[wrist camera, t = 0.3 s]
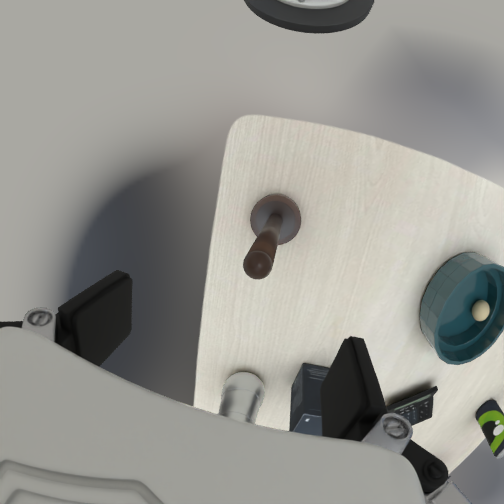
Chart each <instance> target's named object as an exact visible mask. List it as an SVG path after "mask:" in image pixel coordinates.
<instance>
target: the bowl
mask: <svg viewBox="0 0 504 504" xmlns="http://www.w3.org/2000/svg"><path fill="white" fill-rule="evenodd" d="M479 300H484V301H486V302H487V303H488V305H489V308H490V312H489V315H488V317H487V318H486V319H485V320H483V321H477V320H475V319H474V317H473V315H472V308H473V306H474V304H475V303H476V302H477V301H479ZM420 324H421V330H422V332H423V333H424V335H425V337H426V339H427V340H428V342H429V343H430V345H431V346H432V347H433V349H434V351H435V352H436V354H437V355H438V357H439V358H440V359H441V360H443V361H444V362H446V363H447V364H454V365H460V364H464V363H468V362H471V361H472V360H474V359H476V358H477V357H479V356H481V355H482V354H483V353H484V352H486V351H487V350H488V349H489V348H490V347H491V346H492V345H493V344H494V343H495V341H496V340H497V339H498V337H499V336H500V334H501V333H502V332H503V330H504V267H503V266H501V265H499V264H497V263H496V262H494V261H492V260H490V259H488V258H486V257H485V256H482V255H480V254H478V253H475V252H471V253H462V254H460V255H458V256H456V257H454V258H452V259H450V260H449V261H448V262H447V263H446V264H445V265H444V266H443V267H441V268H440V269H439V270H438V272H437V273H436V275H435V276H434V277H433V279H432V280H431V282H430V283H429V285H428V287H427V290H426V292H425V295H424V297H423V299H422V304H421V310H420Z"/></svg>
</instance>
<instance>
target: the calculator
mask: <svg viewBox="0 0 504 504" xmlns="http://www.w3.org/2000/svg"><path fill="white" fill-rule="evenodd" d="M437 390H438V389H437V386H435V387H433V388H431V389H428V390H426V391H424V392H422V393H419V394H417V395H415V396H412V397H410V398H407V399H405V400H402V401H400V402H397V403H395V404H392V405H389V406H387V412H388V413H396V414H399V415H401V416H403V417H405V418H406V419H407V420H408V421H409V422H410V424H411V426H412V425H415V424H417V423H419V422H422V421H424V420H426V419H429V418H431V417H432V410H433V395H434V394H435V393H436V392H437Z"/></svg>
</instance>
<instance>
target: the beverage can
mask: <svg viewBox="0 0 504 504" xmlns="http://www.w3.org/2000/svg"><path fill="white" fill-rule="evenodd" d="M476 420H477V421H478V423H479V425H480V427H481V429H482V431H483V433H484V435H485V437H486V439H487V441H488V443H489V445H490V447H491V449H492V452H493V454H494V456H496V457H497V459H499V458H501V457H503V456H504V413H503V412H502V410H501V408H500V407H499V405H498V404H497V402H496V401H495V400H489V401H487V402H486V403H484V404H483V405H482V406H481V407H480V408H479V410H478V411H477V413H476Z"/></svg>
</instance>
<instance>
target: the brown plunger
mask: <svg viewBox="0 0 504 504" xmlns="http://www.w3.org/2000/svg"><path fill="white" fill-rule="evenodd" d="M250 221H251V227H252V230H253V232H254V233H255V235H256V236H257V238H256V240H255V242H254V243H253V245H252V247H251V248H250V250H249V252H248V254H247V255H246V257H245V259H244V262H243V268H244V271H245V273H246V274H247V275H248V276H249V277H251V278H253V279H263V278H265V277H266V276H268V275H269V273H270V272H271V270H272V266H273V262H274V258H275V253H276V249H277V245H281V244H284V243H287V242H289V241H290V240H292V239H293V238H294V237H295V236H296V234H297V233H298V231H299V228H300V225H301V216H300V211H299V209H298V206H297V205H296V203H295V202H294V201H293V200H292V199H291V198H289V197H287V196H285V195H282V194H271V195H268V196H266V197H264V198H263V199H261V200H260V201H259V202H257V204H256V205H255V206H254V208H253V210H252V213H251V218H250Z"/></svg>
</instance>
